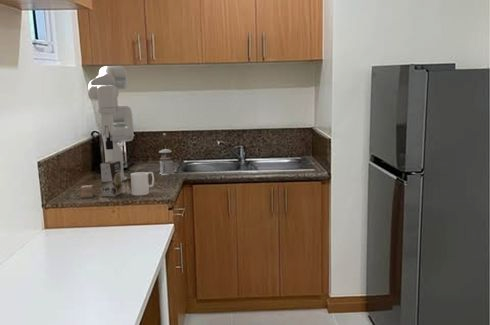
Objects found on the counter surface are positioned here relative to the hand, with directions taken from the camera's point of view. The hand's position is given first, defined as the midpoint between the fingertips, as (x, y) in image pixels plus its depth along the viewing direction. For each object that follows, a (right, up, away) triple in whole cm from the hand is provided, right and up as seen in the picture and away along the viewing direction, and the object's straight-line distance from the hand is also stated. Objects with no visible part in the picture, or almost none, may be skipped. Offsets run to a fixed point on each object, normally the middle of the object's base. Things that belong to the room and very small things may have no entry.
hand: (109, 149), depth 228 cm
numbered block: (-11, -23, 0) cm, 25 cm away
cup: (+16, -22, +4) cm, 27 cm away
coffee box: (+1, -22, +2) cm, 23 cm away
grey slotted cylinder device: (+18, -14, +59) cm, 63 cm away
